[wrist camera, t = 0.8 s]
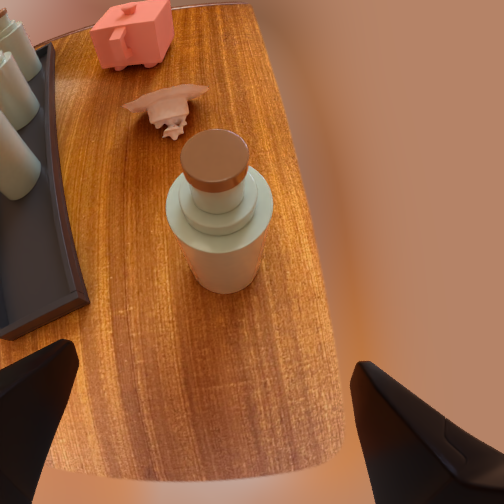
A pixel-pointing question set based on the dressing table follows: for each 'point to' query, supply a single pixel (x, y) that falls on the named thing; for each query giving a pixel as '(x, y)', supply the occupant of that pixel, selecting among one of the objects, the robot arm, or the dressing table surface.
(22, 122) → the bottle middle
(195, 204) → the bottle
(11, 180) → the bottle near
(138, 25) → the pink cube teapot
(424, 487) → the robot arm
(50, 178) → the tray
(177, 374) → the dressing table surface
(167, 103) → the pale pink ornate lid
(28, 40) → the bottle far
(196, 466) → the dressing table surface
